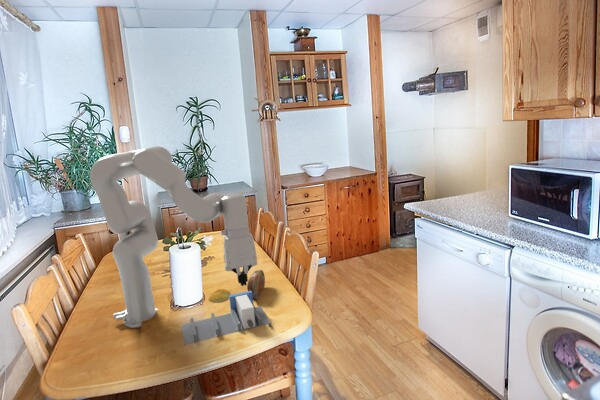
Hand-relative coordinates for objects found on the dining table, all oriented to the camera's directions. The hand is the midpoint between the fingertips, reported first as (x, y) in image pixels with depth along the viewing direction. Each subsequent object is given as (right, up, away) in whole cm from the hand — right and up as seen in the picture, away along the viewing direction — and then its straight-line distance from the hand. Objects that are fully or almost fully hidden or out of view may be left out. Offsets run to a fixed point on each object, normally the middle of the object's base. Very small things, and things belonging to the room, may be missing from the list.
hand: (243, 284), depth 131 cm
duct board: (-6, -15, +2) cm, 17 cm away
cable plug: (+1, -13, +1) cm, 14 cm away
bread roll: (-12, -11, +22) cm, 28 cm away
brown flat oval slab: (+2, -10, +26) cm, 27 cm away
